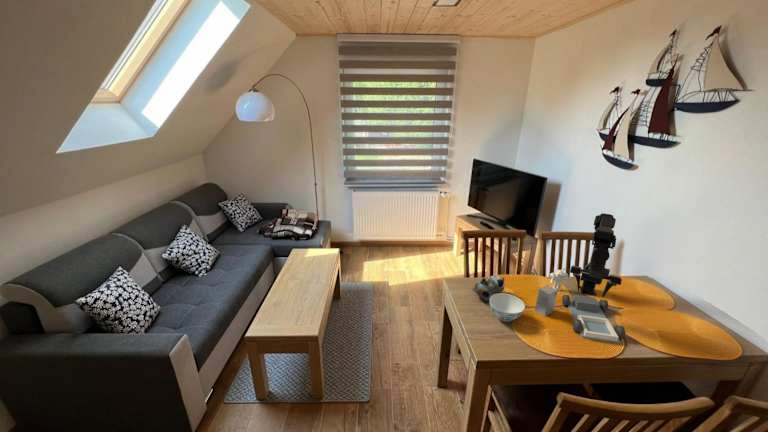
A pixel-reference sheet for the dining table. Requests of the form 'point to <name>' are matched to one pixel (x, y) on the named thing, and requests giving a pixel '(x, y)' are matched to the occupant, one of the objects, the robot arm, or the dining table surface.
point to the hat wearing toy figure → (558, 278)
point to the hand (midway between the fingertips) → (590, 293)
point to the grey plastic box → (546, 300)
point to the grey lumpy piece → (489, 287)
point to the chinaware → (506, 306)
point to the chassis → (592, 319)
